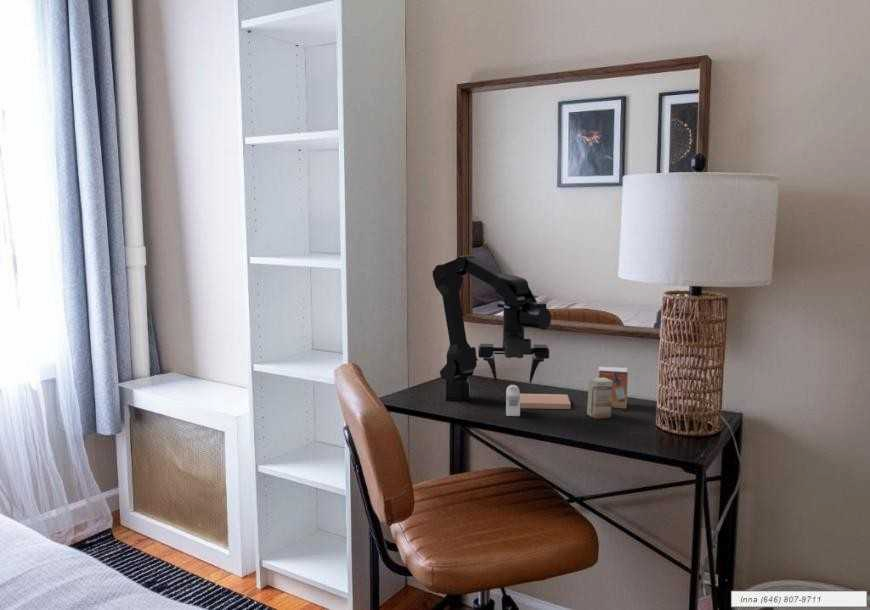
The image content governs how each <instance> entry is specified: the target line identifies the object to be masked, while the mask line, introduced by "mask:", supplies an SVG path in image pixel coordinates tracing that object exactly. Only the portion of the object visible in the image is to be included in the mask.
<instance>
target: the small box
mask: <svg viewBox="0 0 870 610" xmlns="http://www.w3.org/2000/svg"><path fill="white" fill-rule="evenodd" d="M602 377H605V378H607V379H610V380H612V381H613V386H612V403H611V408H616V409H627V404H628V403H627V402H628V401H627V400H628V380H629V378H628V377H629V370H628V367H614V366H613V367H611V366H599V367H598V377H597V378H602Z"/></svg>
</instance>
